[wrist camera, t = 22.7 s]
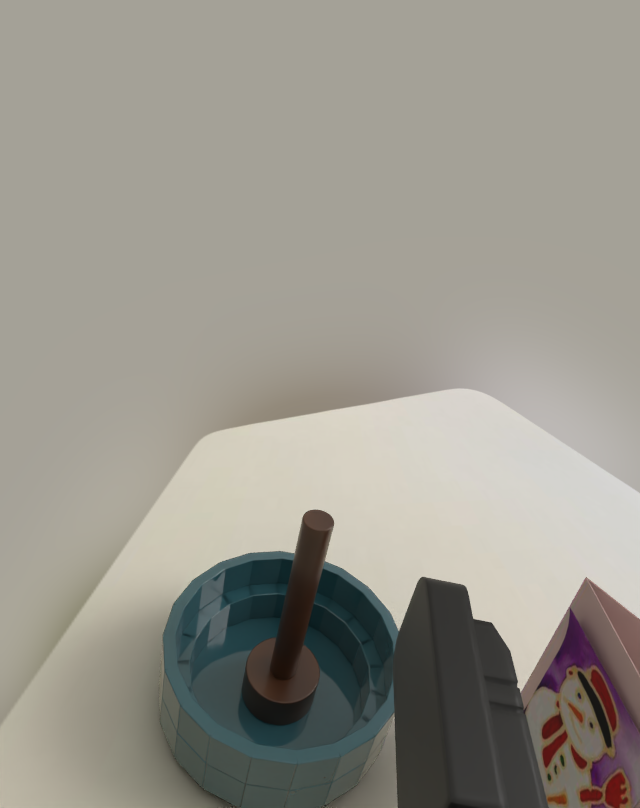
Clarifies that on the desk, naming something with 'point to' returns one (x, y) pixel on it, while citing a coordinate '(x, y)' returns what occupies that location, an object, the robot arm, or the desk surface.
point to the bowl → (224, 671)
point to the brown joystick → (290, 636)
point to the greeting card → (588, 706)
